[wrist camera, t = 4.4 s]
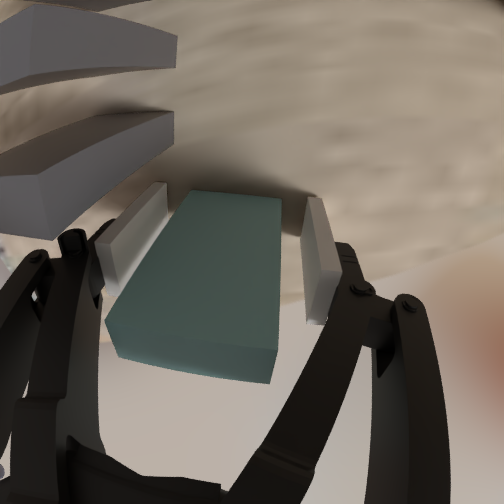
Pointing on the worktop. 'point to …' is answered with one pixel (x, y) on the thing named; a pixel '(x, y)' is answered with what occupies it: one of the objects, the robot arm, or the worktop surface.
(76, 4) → the domino
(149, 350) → the domino
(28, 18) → the domino
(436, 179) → the worktop surface
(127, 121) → the domino
